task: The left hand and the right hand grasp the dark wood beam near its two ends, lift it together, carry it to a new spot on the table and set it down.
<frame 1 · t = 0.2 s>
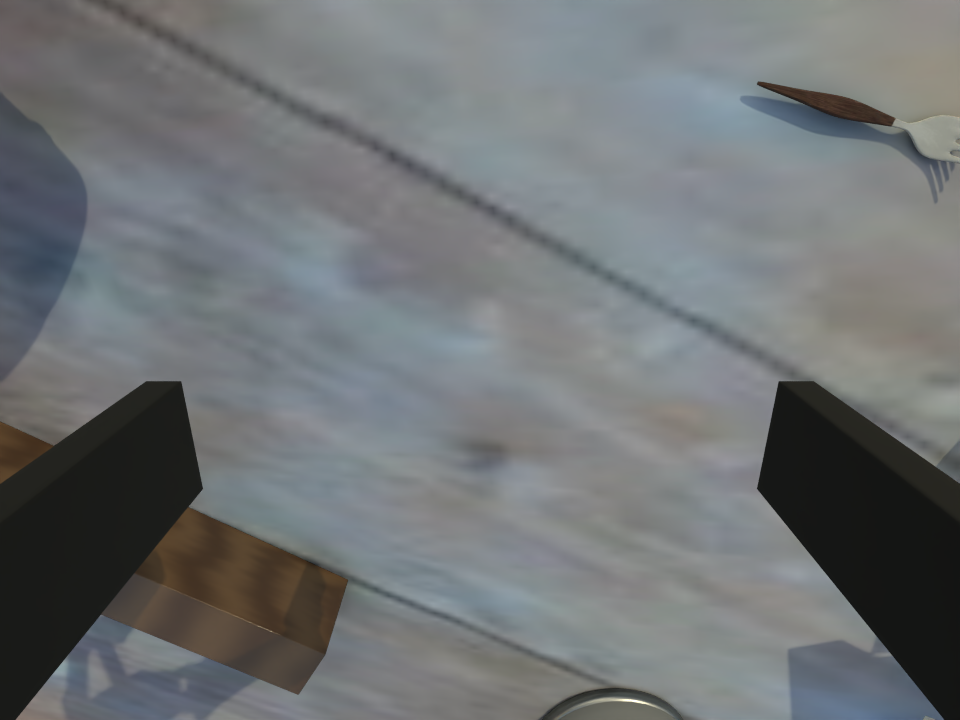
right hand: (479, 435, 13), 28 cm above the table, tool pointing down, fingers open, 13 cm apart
fork: (868, 117, 36), on the table
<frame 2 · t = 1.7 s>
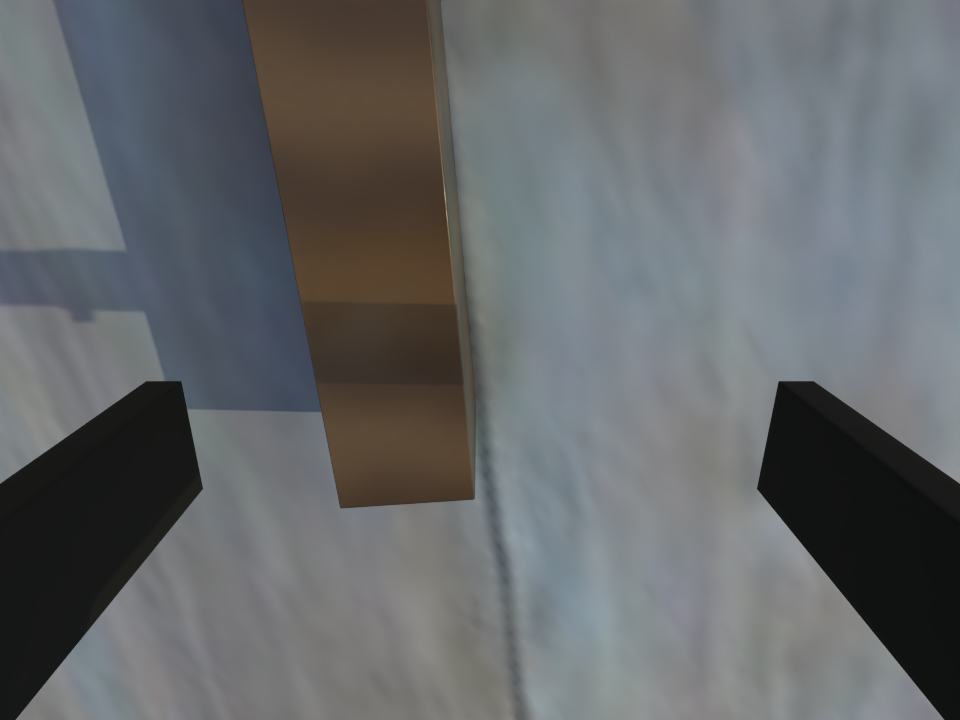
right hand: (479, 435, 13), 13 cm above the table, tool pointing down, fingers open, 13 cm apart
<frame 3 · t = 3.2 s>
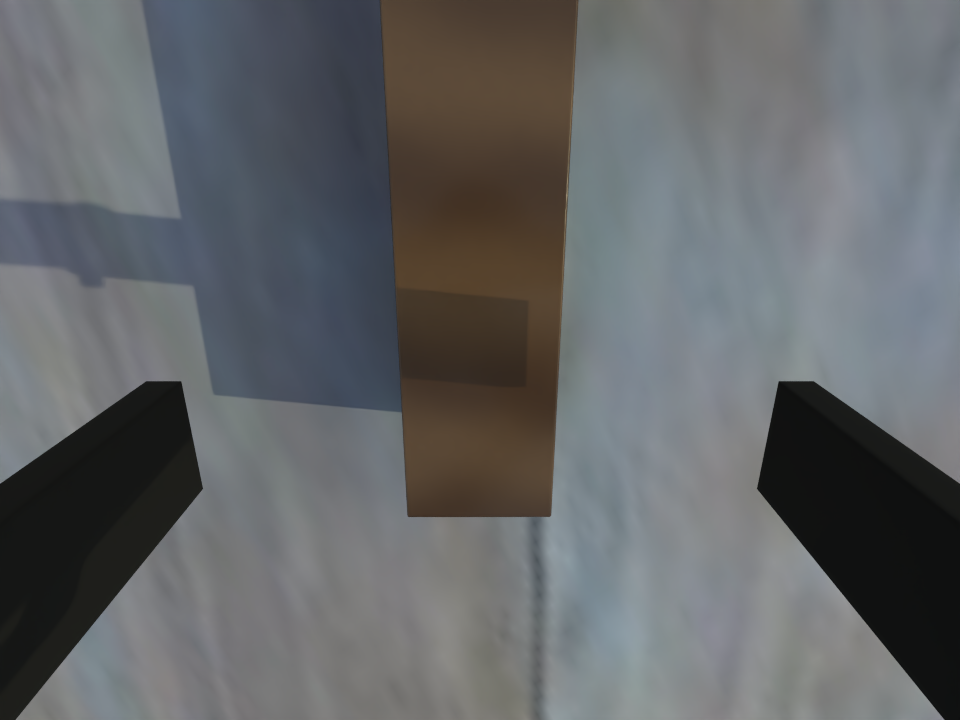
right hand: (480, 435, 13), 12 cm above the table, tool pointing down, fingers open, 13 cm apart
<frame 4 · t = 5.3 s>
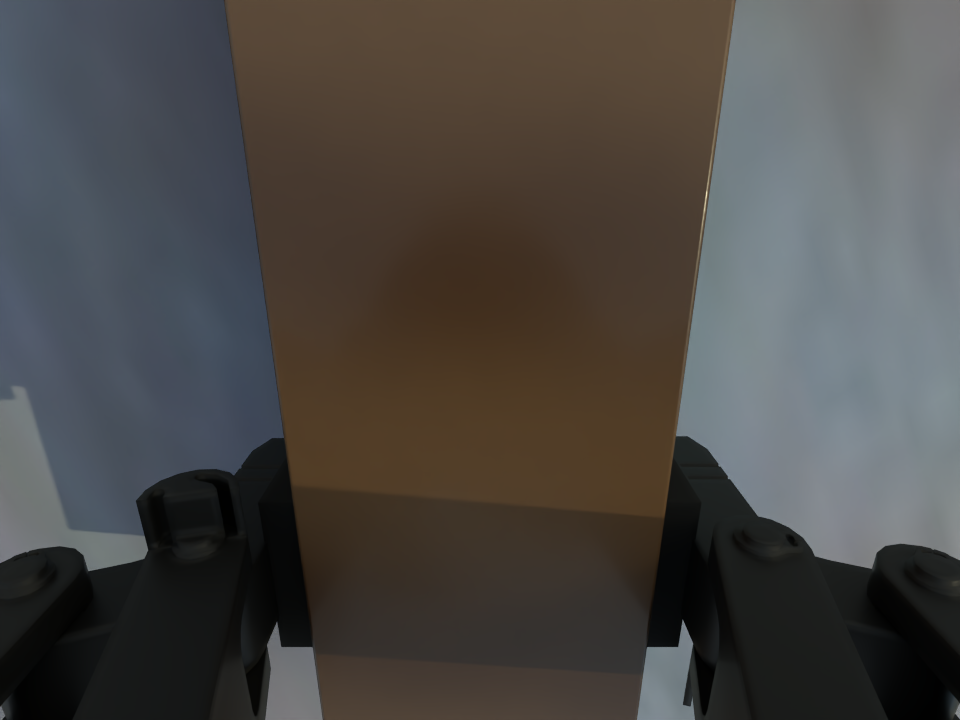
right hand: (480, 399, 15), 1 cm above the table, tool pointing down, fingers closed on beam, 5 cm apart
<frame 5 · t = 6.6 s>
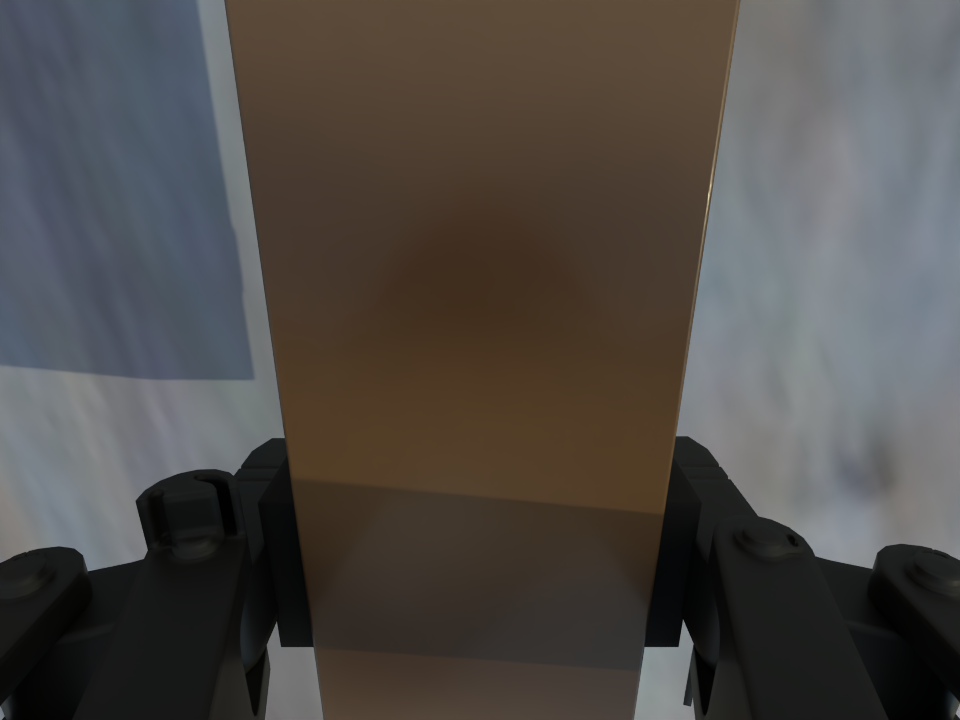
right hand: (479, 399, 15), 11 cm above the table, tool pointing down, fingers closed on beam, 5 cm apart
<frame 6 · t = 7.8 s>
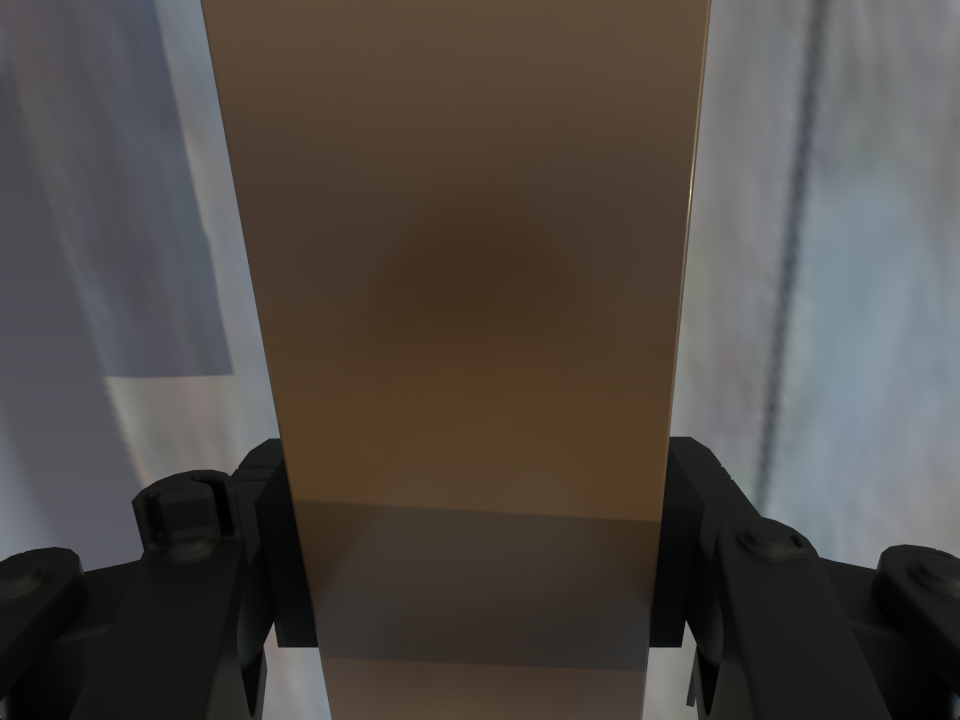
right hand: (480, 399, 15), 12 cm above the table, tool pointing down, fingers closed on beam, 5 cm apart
when the left hand's fingers open (2 cm above the table, at t = 10.1 s): beam drops 1 cm, on the table.
when the right hand's fingers open (2 cm above the table, at t = 10.1 s): beam drops 1 cm, on the table.
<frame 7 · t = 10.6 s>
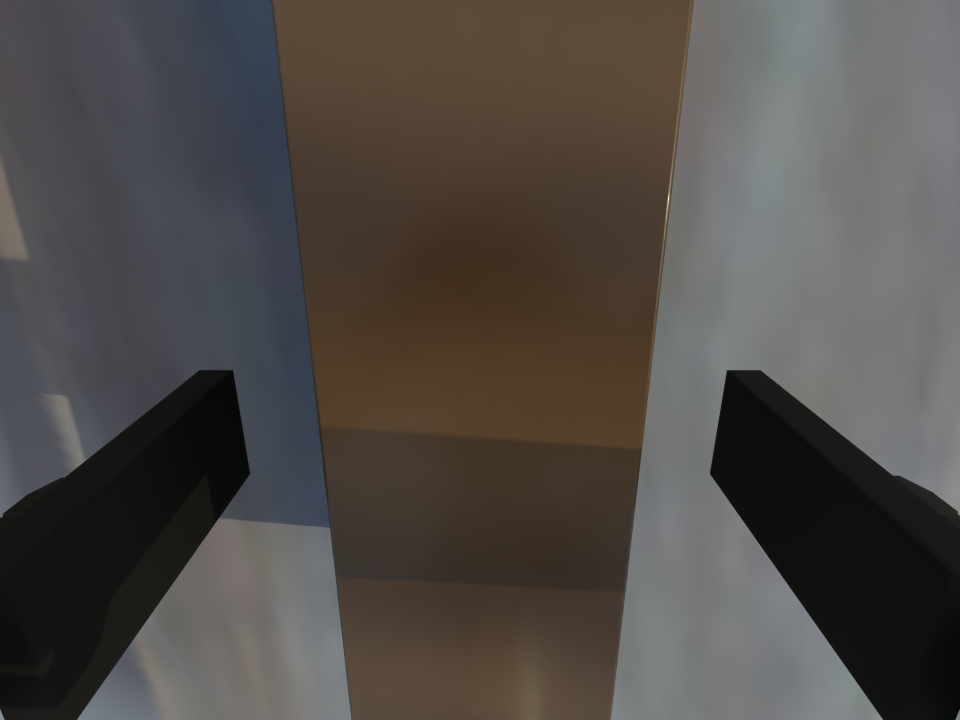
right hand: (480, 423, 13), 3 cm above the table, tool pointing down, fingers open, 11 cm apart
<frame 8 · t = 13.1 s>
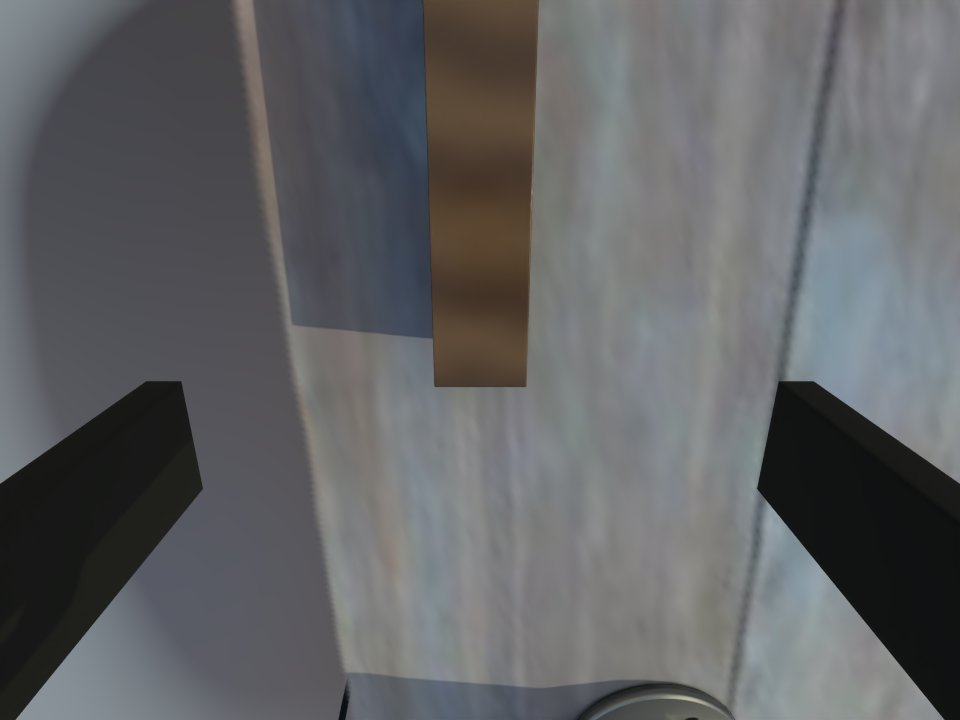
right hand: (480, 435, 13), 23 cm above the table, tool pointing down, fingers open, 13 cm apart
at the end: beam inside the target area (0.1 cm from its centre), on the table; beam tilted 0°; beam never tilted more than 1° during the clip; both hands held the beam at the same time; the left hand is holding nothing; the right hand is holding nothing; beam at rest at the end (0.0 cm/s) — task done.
